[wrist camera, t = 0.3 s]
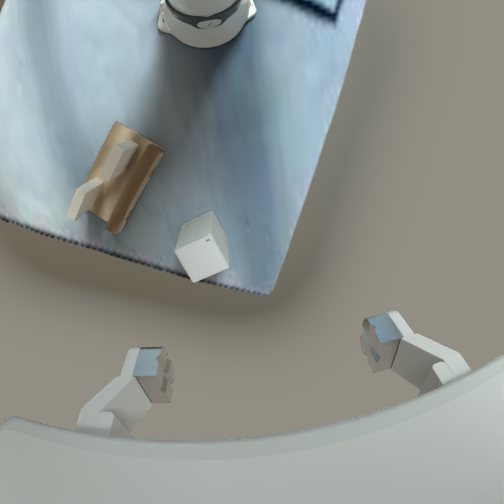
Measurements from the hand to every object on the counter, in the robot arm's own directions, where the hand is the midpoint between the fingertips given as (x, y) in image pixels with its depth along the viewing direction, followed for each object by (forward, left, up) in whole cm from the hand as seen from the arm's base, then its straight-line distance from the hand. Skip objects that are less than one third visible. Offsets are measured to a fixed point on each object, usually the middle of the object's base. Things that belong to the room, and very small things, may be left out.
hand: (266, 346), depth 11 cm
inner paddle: (-6, -19, -46) cm, 50 cm away
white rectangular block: (-1, -28, -46) cm, 54 cm away
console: (-2, -22, -48) cm, 53 cm away
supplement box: (+13, -7, -48) cm, 50 cm away
